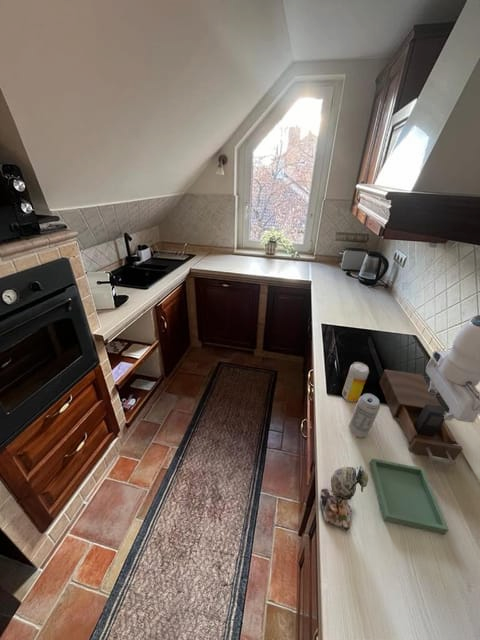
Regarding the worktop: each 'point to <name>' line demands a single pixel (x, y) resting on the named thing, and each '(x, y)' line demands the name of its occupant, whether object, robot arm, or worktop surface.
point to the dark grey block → (429, 420)
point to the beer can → (355, 381)
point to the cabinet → (405, 391)
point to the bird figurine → (342, 495)
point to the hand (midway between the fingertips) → (438, 405)
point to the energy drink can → (364, 415)
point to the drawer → (429, 439)
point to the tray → (406, 496)
